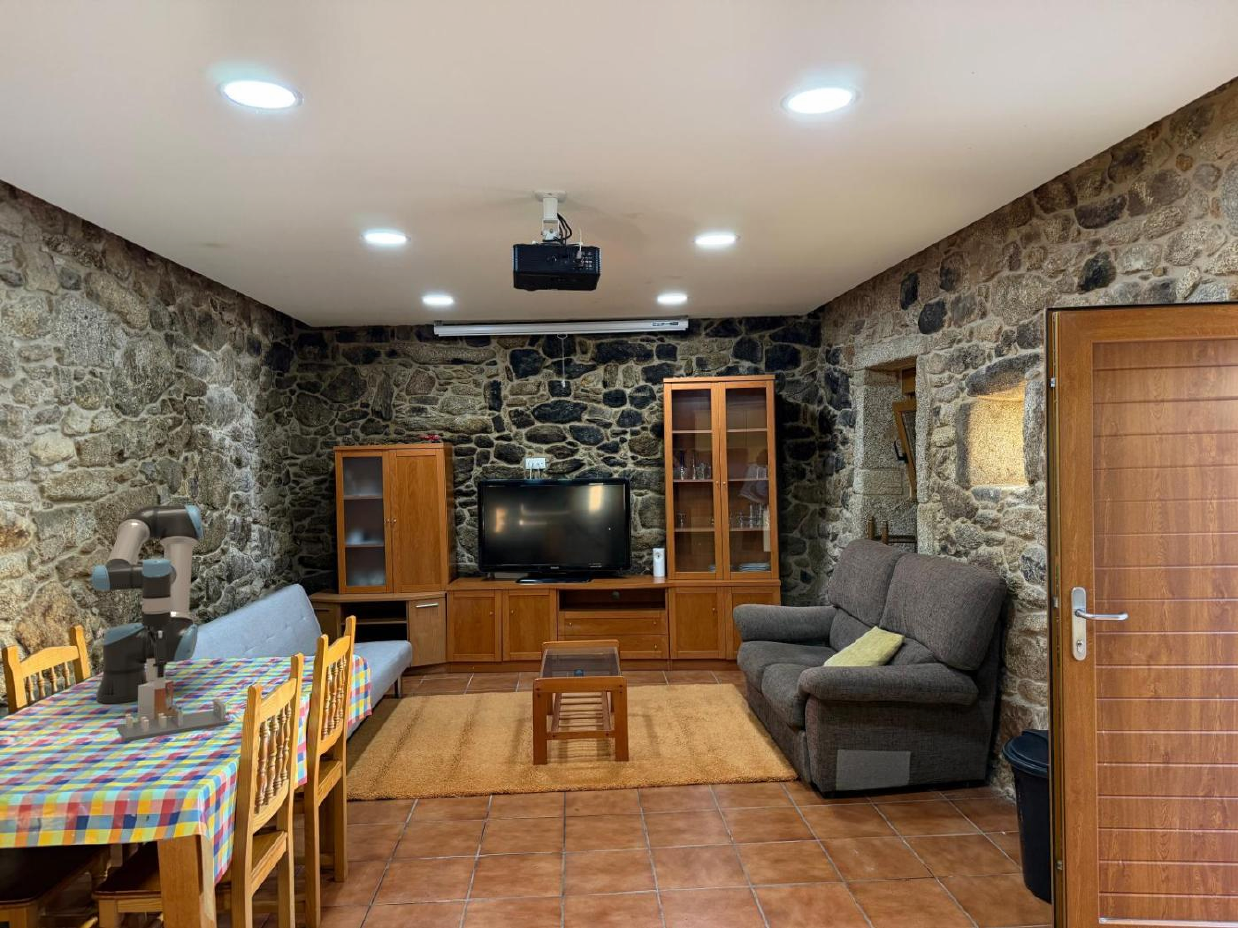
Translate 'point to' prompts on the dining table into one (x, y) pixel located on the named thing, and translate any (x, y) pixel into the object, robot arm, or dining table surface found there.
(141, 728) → the board
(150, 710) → the small box
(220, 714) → the end holder
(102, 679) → the robot arm
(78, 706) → the dining table surface
